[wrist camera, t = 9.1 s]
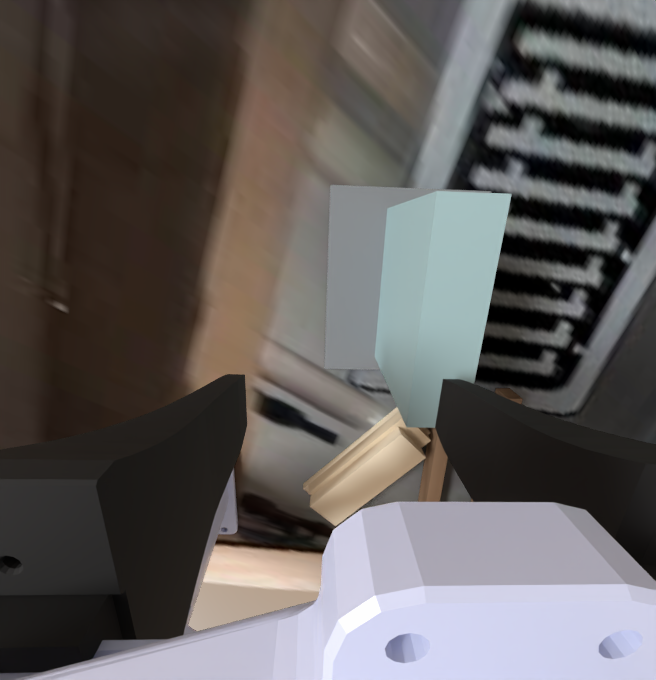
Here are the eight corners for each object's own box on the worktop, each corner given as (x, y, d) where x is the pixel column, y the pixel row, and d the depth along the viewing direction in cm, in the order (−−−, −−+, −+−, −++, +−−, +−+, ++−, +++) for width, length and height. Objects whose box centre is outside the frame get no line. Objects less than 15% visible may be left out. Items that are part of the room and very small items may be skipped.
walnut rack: (415, 519, 26) (420, 535, 25) (435, 387, 22) (443, 397, 21) (478, 519, 26) (487, 535, 25) (509, 388, 23) (522, 399, 21)
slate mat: (324, 365, 22) (324, 368, 21) (330, 186, 18) (330, 184, 18) (455, 367, 22) (458, 371, 21) (485, 192, 19) (491, 191, 18)
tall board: (374, 356, 21) (406, 427, 13) (387, 208, 18) (436, 191, 11) (412, 357, 21) (465, 428, 13) (431, 210, 18) (511, 193, 11)
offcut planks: (303, 480, 25) (302, 508, 23) (401, 400, 23) (411, 421, 21) (330, 501, 26) (331, 530, 23) (426, 425, 24) (439, 448, 21)
